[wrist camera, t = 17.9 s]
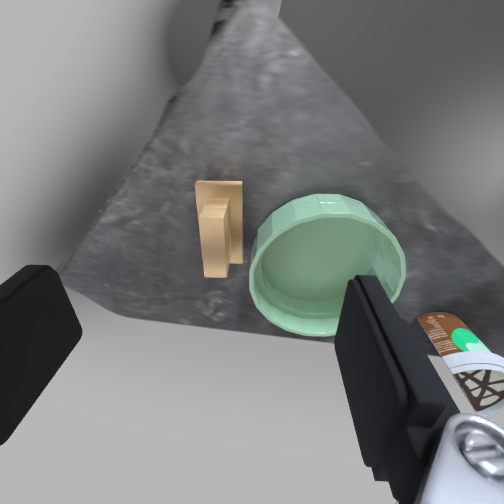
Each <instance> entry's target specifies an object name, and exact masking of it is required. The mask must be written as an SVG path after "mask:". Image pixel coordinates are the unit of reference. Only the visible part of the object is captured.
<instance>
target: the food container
mask: <svg viewBox="0 0 504 504" xmlns="http://www.w3.org/2000/svg"><path fill="white" fill-rule="evenodd" d="M417 319H418V321H419V322H420V324H421V325H422V327H423V329H424V330H425V332H426V333H427V335H428V337H429V338H430V340H431V342H432V343H433V345H434V346H435V348H436V350H437V351H438V353H439V355H440V356H441V358H442V359H443V361H444V362H445V364H446V366H447V367H448V369H449V370H450V372H451V374H452V375H453V377H454V378H455V380H456V381H457V383H458V385H459V386H460V388H461V389H462V391H463V392H464V394H465V396H466V397H467V399H468V401H469V402H470V404H471V405H472V407H473V409H474V410H475V412H476V413H477V415H479V416H482V417H484V418H485V417H488V416H490V415H493V414H495V413H497V412H499V411H501V410H503V409H504V358H503V357H501V356H499V355H496V354H493V353H491V352H490V351H489V349H488V348H487V347H486V346H485V345H484V344H483V343H482V342H481V341H480V340H479V339H478V338H477V337H476V336H475V335H474V334H473V333H472V332H471V330H470V329H469V328H468V327H467V326H466V325H465V324H464V323H463V322H462V321H461V320H460V319H459V318H458V317H457V316H455V315H453V314H450V313H445V312H432V313H426V314H422V315H419V316H417Z"/></svg>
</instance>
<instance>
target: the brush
mask: <svg viewBox="0 0 504 504" xmlns="http://www.w3.org/2000/svg"><path fill="white" fill-rule="evenodd" d="M194 185H195V194H196V204H197V213H198V222H199V232H200V241H201V250H202V260H203V267H204V277H214V278H227V274H228V269H229V264H230V263H236V264H243V195H242V181H196V183H195V184H194Z"/></svg>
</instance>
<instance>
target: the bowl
mask: <svg viewBox="0 0 504 504" xmlns="http://www.w3.org/2000/svg"><path fill="white" fill-rule="evenodd" d="M356 275H375V276H377V278H378V279H379V281H380V283H381V285H382V287H383V288H384V290H385V292H386V294H387V295H388V297H389V299H390V301H391V303H393V302H394V301H395V300H396V298H397V297H398V296H399V294H400V291H401V289H402V286H403V283H404V280H405V277H406V266H405V255H404V253H403V251H402V249H401V247H400V245H399V243H398V241H397V239H396V237H395V236H394V235H393V234H392V232H391V231H390V230H389V229H388V228H387V226H386V225H385V224H384V223H383V221H382V220H381V219H380V218H379V216H378V215H377V214H375V213H374V212H373V211H372V210H371V209H369V208H368V207H367V206H366V205H365V204H363V203H362V202H361V201H358V200H355V199H352V198H349V197H346V196H343V195H339V194H313V195H309V196H305V197H302V198H298V199H295V200H292V201H290V202H288V203H287V204H285V205H284V206H282V207H280V208H279V209H277V210H276V211H274V212H273V213H272V214H271V215H270V216H269V217H268V218H267V219H266V221H265V222H264V223H263V224H262V225H261V227H260V228H259V229H258V231H257V234H256V237H255V239H254V242H253V244H252V247H251V258H250V269H249V291H250V293H251V296H252V298H253V300H254V303H255V305H256V307H257V309H258V310H259V311H260V312H261V313H262V314H263V315H264V316H265V317H266V318H267V319H268V320H269V321H270V322H272V323H274V324H275V325H277V326H279V327H280V328H282V329H284V330H286V331H289V332H293V333H297V334H300V335H304V336H324V337H326V336H333V335H336V331H337V327H338V322H339V318H340V314H341V309H342V305H343V301H344V296H345V292H346V288H347V283H348V281H349V279H354V277H355V276H356Z"/></svg>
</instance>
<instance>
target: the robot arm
mask: <svg viewBox="0 0 504 504" xmlns="http://www.w3.org/2000/svg"><path fill="white" fill-rule="evenodd" d="M81 336H82V327H81V325H80V323H79V321H78V318H77V316H76V314H75V311H74V309H73V307H72V305H71V302H70V300H69V298H68V295H67V293H66V291H65V289H64V286H63V284H62V282H61V280H60V277H59V275H58V273H57V272H56V271H55V270H53V268H51V267H50V266H48V265H27V266H25V267H23V268H22V269H21V270H19V271H18V272H17V273H15V274H14V275H13V276H12V277H10V278H9V279H8V280H6V281H5V282H4V283H2V284H1V285H0V445H2V444H4V443H5V442H6V441H7V440H8V439H9V437H10V436H11V435H12V433H13V432H14V430H15V429H16V427H17V426H18V425H19V423H20V422H21V421H22V419H23V418H24V417H25V415H26V414H27V412H28V411H29V410H30V408H31V407H32V405H33V404H34V403H35V401H36V400H37V399H38V397H39V396H40V394H41V393H42V391H43V390H44V389H45V387H46V386H47V385H48V383H49V382H50V380H51V379H52V378H53V376H54V375H55V374H56V372H57V371H58V369H59V368H60V367H61V365H62V364H63V362H64V361H65V360H66V358H67V357H68V355H69V354H70V353H71V351H72V350H73V349H74V347H75V346H76V344H77V343H78V342H79V340H80V339H81ZM334 344H335V351H336V355H337V359H338V363H339V367H340V371H341V375H342V379H343V383H344V387H345V391H346V395H347V399H348V403H349V407H350V411H351V415H352V418H353V422H354V426H355V431H356V434H357V438H358V442H359V446H360V450H361V454H362V458H363V461H364V464H365V465H366V466H367V467H371V468H372V472H373V475H374V479H375V481H387V482H389V485H390V488H391V491H392V495H393V497H394V498H395V499H396V500H397V501H396V504H504V429H503V428H502V427H500V426H499V425H497V424H496V423H494V422H492V421H490V420H488V419H486V418H484V417H482V416H479V415H474V414H471V413H460V411H459V409H458V407H457V406H456V404H455V402H454V401H453V399H452V397H451V396H450V394H449V392H448V390H447V389H446V387H445V385H444V383H443V382H442V380H441V378H440V377H439V375H438V373H437V371H436V370H435V368H434V366H433V365H432V363H431V362H430V359H429V358H428V356H427V354H426V352H425V351H424V349H423V347H422V346H421V344H420V342H419V340H418V339H417V337H416V335H415V334H414V332H413V330H412V328H411V327H410V325H409V324H408V323H407V321H405V320H404V319H400V317H399V315H398V313H397V312H396V310H395V308H394V306H393V304H392V303H391V301H390V299H389V297H388V295H387V294H386V292H385V290H384V288H383V287H382V285H381V283H380V281H379V279H378V278H377V276H375V275H356V276H355V277H354V279H349V281H348V283H347V288H346V292H345V296H344V301H343V305H342V309H341V314H340V318H339V322H338V327H337V331H336V335H335V342H334Z"/></svg>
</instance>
